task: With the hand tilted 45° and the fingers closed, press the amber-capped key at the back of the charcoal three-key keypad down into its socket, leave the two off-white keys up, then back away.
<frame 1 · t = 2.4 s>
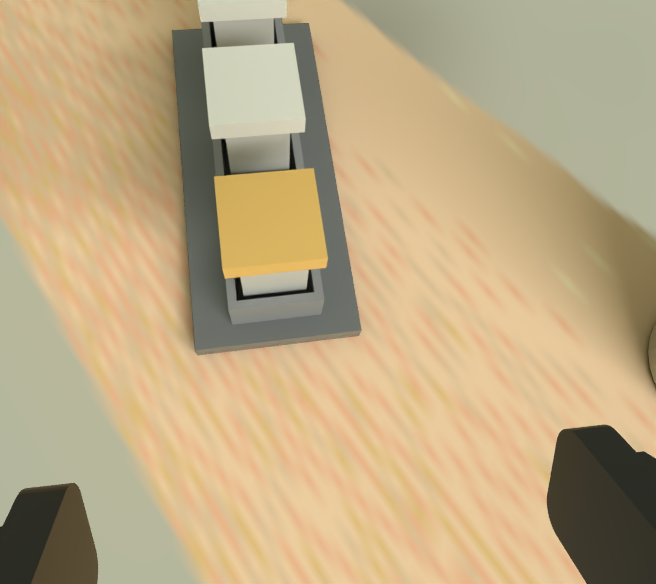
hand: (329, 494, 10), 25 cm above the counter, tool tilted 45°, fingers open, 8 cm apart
amber key: (270, 242, 31), point 6 cm above the counter, slide at 0.0 cm
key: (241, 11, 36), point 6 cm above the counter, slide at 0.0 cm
keypad: (259, 176, 40), on the counter
middle key: (255, 117, 33), point 7 cm above the counter, slide at 0.0 cm
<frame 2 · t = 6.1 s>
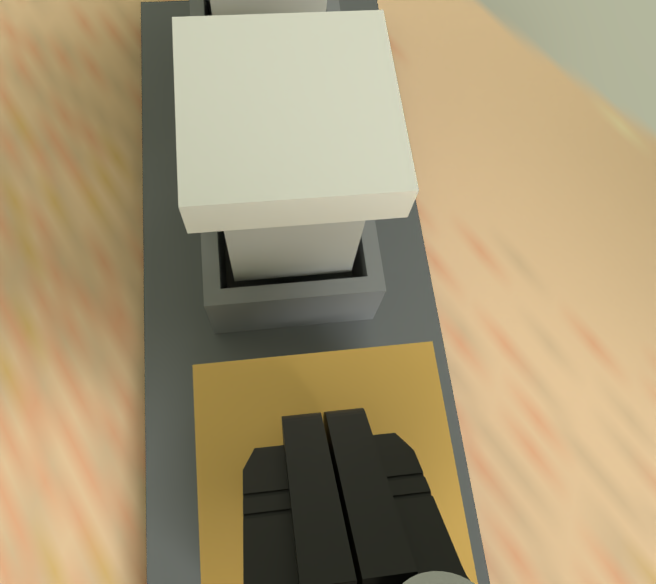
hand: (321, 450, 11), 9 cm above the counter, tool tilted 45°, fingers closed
amber key: (320, 484, 14), point 5 cm above the counter, slide at 1.1 cm, touching gripper
keypad: (287, 267, 22), on the counter
middle key: (288, 173, 16), point 6 cm above the counter, slide at 0.0 cm
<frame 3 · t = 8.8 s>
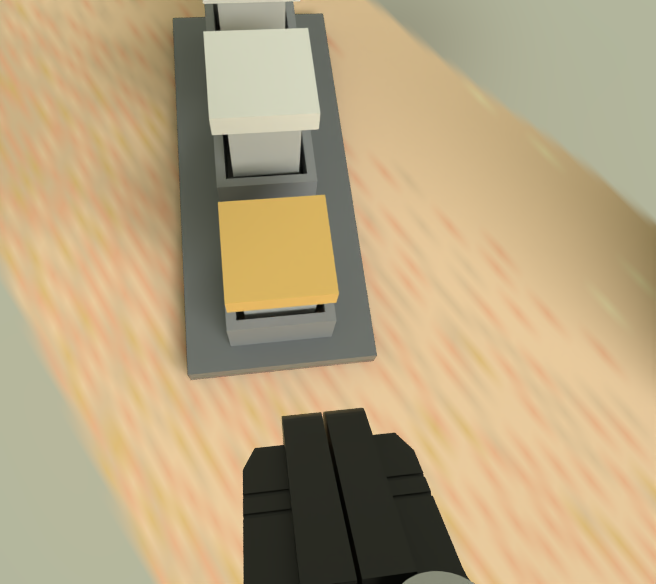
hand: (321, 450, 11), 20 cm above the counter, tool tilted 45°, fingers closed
amber key: (277, 272, 29), point 4 cm above the counter, slide at 2.1 cm
keypad: (264, 180, 36), on the counter
middle key: (262, 112, 30), point 6 cm above the counter, slide at 0.0 cm
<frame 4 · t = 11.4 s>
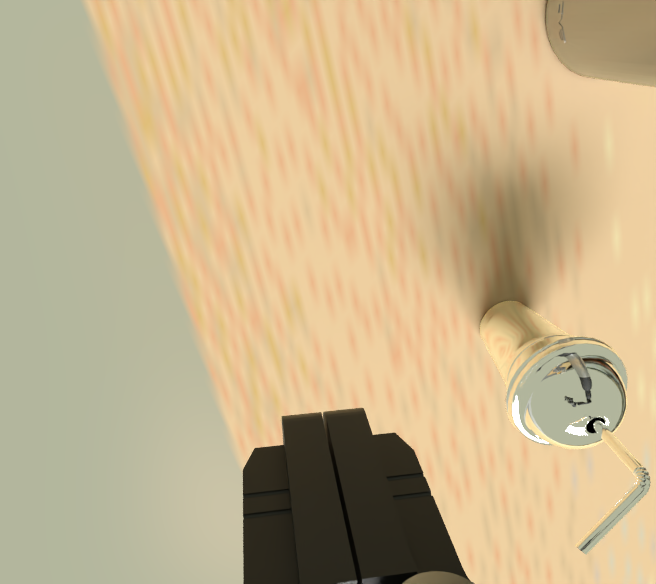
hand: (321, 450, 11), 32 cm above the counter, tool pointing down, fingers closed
cup with straw: (501, 324, 49), on the counter
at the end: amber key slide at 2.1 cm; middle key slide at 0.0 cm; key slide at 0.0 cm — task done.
